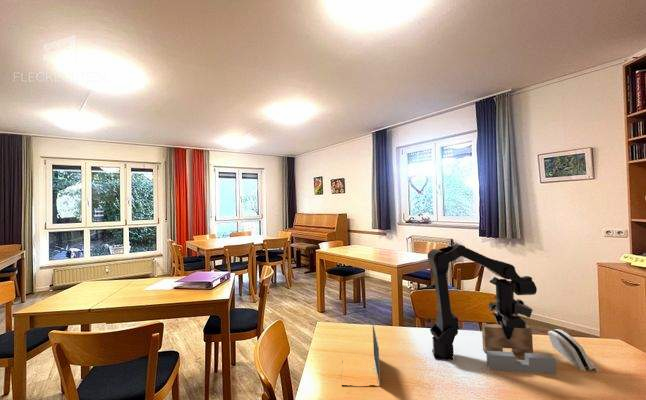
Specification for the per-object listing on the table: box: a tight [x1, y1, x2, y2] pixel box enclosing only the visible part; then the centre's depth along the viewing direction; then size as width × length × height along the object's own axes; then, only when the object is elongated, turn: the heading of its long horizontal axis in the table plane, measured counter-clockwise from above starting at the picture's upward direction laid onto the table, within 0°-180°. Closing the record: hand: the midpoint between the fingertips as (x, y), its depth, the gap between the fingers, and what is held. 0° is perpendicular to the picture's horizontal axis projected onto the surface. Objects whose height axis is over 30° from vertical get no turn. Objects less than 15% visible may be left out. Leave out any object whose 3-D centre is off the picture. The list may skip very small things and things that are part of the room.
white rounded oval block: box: [547, 328, 599, 372], centre depth 106 cm, size 17×5×10 cm, turn 170°
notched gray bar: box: [486, 351, 558, 375], centre depth 100 cm, size 20×3×5 cm, turn 78°
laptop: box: [372, 324, 381, 386], centre depth 103 cm, size 18×12×13 cm
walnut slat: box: [481, 323, 534, 357], centre depth 111 cm, size 16×3×10 cm, turn 78°
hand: (506, 337), depth 111 cm, fingers closed on walnut slat, 3 cm apart
